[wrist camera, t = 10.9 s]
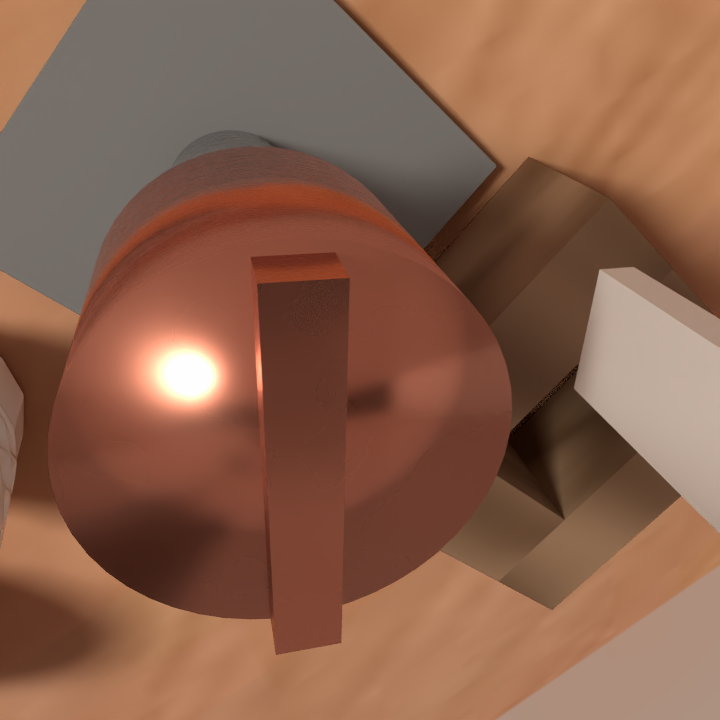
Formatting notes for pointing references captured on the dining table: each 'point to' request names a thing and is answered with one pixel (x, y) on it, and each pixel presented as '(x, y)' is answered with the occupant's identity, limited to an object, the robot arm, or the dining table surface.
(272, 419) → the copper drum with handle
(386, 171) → the mat
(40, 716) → the dining table surface
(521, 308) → the eye block
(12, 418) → the white cup
